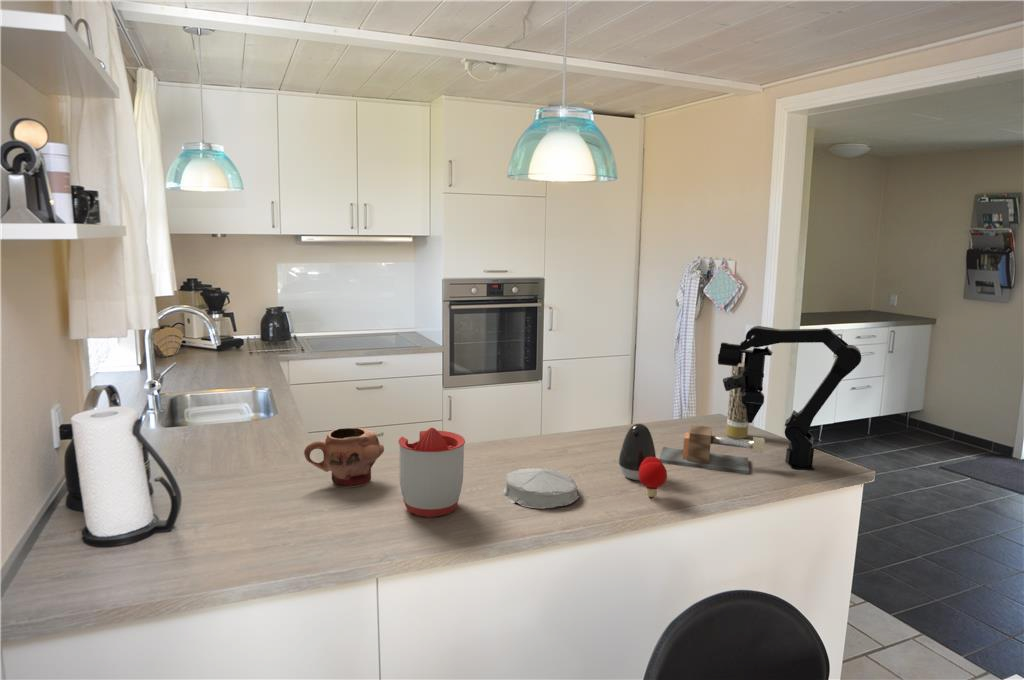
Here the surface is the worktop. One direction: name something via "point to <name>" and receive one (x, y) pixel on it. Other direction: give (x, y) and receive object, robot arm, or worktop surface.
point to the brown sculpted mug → (348, 455)
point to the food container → (540, 488)
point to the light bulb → (652, 475)
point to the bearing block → (704, 454)
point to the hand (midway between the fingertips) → (749, 418)
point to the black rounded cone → (635, 450)
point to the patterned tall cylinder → (737, 410)
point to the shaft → (741, 443)
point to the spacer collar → (686, 446)
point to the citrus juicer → (431, 472)
